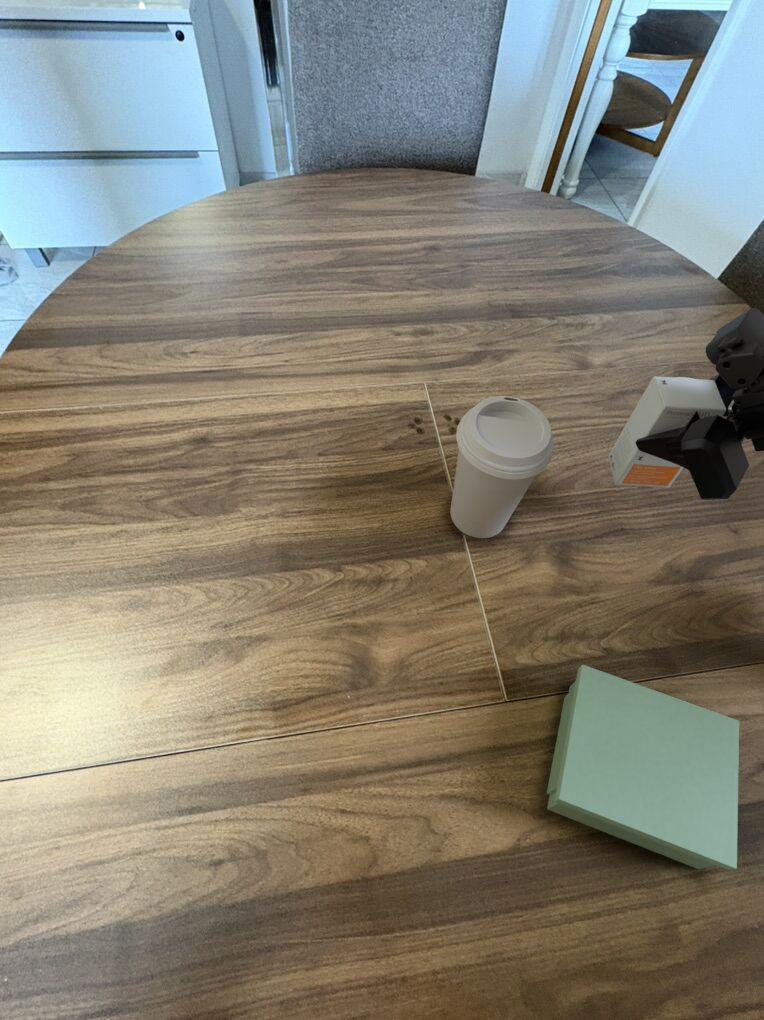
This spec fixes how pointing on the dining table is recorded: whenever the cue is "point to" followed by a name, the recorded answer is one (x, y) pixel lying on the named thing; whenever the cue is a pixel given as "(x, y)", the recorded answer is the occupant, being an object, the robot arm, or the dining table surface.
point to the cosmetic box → (660, 428)
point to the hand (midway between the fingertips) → (651, 425)
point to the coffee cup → (497, 462)
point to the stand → (648, 769)
